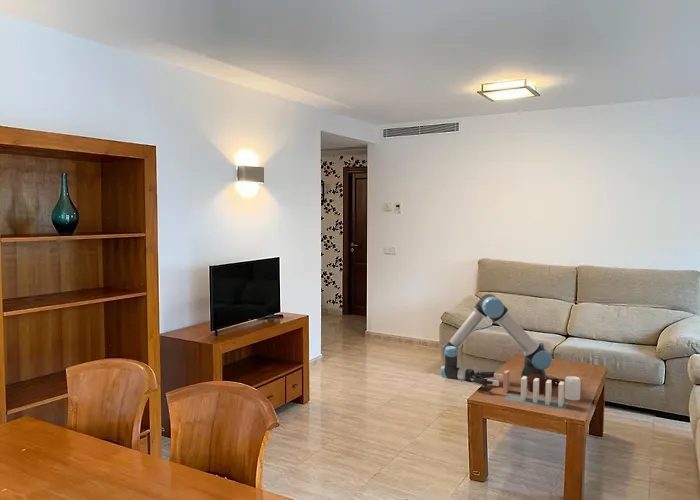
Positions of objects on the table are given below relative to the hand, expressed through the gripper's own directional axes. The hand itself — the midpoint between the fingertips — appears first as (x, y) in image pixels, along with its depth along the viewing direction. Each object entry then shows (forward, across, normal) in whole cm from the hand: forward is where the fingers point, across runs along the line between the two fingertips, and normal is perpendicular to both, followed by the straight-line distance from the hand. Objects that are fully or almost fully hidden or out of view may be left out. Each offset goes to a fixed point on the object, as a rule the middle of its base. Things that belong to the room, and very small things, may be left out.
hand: (502, 380), depth 318 cm
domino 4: (+27, +8, -6) cm, 29 cm away
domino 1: (+2, 0, -7) cm, 7 cm away
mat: (+21, +8, -7) cm, 24 cm away
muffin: (+17, -10, -7) cm, 21 cm away
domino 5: (+34, +8, -6) cm, 35 cm away
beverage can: (+37, -6, -7) cm, 38 cm away
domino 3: (+21, +8, -6) cm, 23 cm away
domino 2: (+14, +9, -6) cm, 18 cm away
